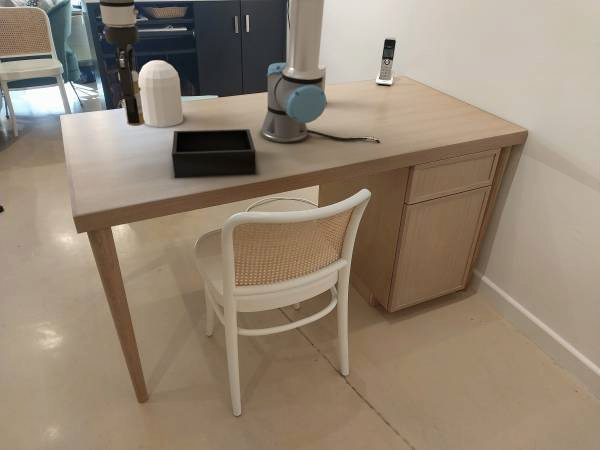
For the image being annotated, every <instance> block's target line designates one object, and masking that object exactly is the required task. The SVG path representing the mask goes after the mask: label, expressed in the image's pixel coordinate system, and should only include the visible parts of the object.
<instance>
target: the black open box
mask: <svg viewBox="0 0 600 450" xmlns="http://www.w3.org/2000/svg"><path fill="white" fill-rule="evenodd" d="M171 158H172V166H173V167H172V168H173V174H174V175H173V176H174V178H175V179H176V178H195V177H197V178H199V177H219V176H240V175H256V170H257V169H256V163H257V161H256V148H255V145H254V140H253V137H252V133H251V130H250V128H241V129H239V128H237V129H234V128H233V129H203V130H202V129H201V130H200V129H199V130H173V137H172V150H171Z"/></svg>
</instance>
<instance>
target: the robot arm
mask: <svg viewBox="0 0 600 450" xmlns="http://www.w3.org/2000/svg"><path fill="white" fill-rule="evenodd" d="M290 2H291V3H290V4H291V5H290V21H289V41H288V56H287V57H288V60H287V62H276V63H275V62H274V63H271V64H270V65H269V66H268V67H267V74H266V77H267V111H266V114H265V117H264V120H263V123H262V126H261V135H262V137H263V138H264V139H266V140H268V141H271V142H274V143H275V142H276V143H281V144H290V143H298V142H301V141H303V140H305V139H307V136H308V134H313V135H318V136H320V137H324V138H329V139H332V140H336V141H345V142H348V141H358V140H360V141H362V140H363V141H364V140H368V139H367V138H352V137H339V136H334V135H331V134H326V133H322V132H319V131H315V130H312V129H308V126H307V124H309V123H312V122H314V121H316V120H317V119H318V118H319V117H321V116H322V114H323V113H324V111H325V110H326V108H327V107H326V106H327V95H326V92H325V91H323V90H322V81H323V73H322V72H321V71H320V69H319V68H318V65H319V64H320V52H321V41H322V29H323V20H324V19H323V18H324V10H325V9H324V6H325V0H291V1H290ZM99 8H100V14H101V21H102V23H103V24H105V25H104V26H103V30H104V37H105V41H106V42H107V43H108V44H111V45H115V46H116V51H115V52H114V54H115V63H116V65H117V70H118V78H119V77H120V80H119V83H120V88H121V95H122V96H120V99H121V101H123V100H124V99H125V104H126V110H127V117H128V123H129V124H140V120H139V113H138V107H137V100H136V98H135V93H134V84H133V77H132V71H136V72H137V68H136V61H135V55H136V53H135V49H134V46H132V45H136V44H137V43H139V42H140V35H139V27H138V26H137V25H136V23H137V22H138V21H137V15H138V14H139V11H138V9H135V0H99ZM139 90H140V91H141V88H140V87H139ZM127 117H126V118H127ZM372 137H373V138H374V136H372ZM371 140H372V141H375V142H376V143H377V144H381V141H380V140H379V139H378V140H374V139H371Z"/></svg>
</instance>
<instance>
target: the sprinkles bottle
mask: <svg viewBox="0 0 600 450" xmlns="http://www.w3.org/2000/svg"><path fill="white" fill-rule="evenodd" d="M132 77H133V84H134V93H135V98H136V100H137V107H138V113H139V120H140V124H129V123H128V117H127V110H126V104H125V99H124V100H122V101H123V107H124V112H125V117H126V124H127V125H128V126H130V127H139V126H143V125H144V124H145V121H144V118H143V109H142V102H141V95H140V90H139V84H138V79H139V73H138V71H137V70H136V71H132ZM118 80H119V81H120V77H119V76H118Z"/></svg>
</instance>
